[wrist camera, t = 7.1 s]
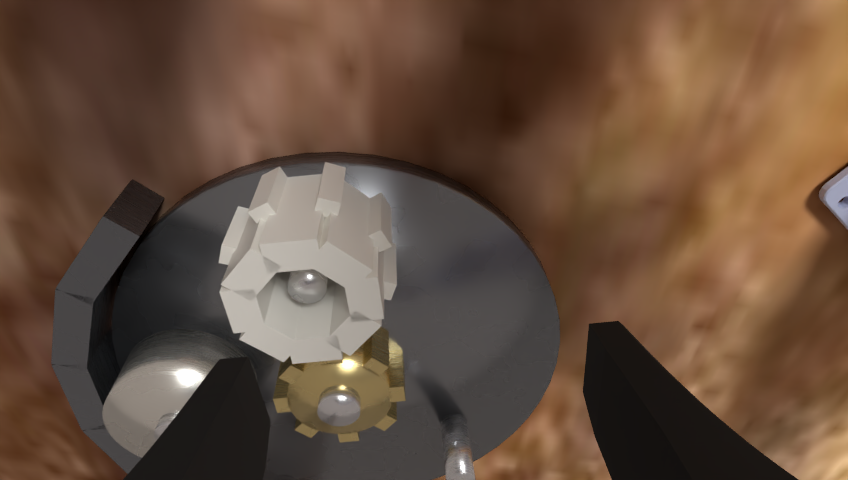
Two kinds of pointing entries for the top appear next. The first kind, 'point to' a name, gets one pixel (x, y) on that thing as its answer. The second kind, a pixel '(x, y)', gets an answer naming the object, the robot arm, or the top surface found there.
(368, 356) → the carrier
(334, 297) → the planet gear
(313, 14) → the top surface
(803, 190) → the top surface
